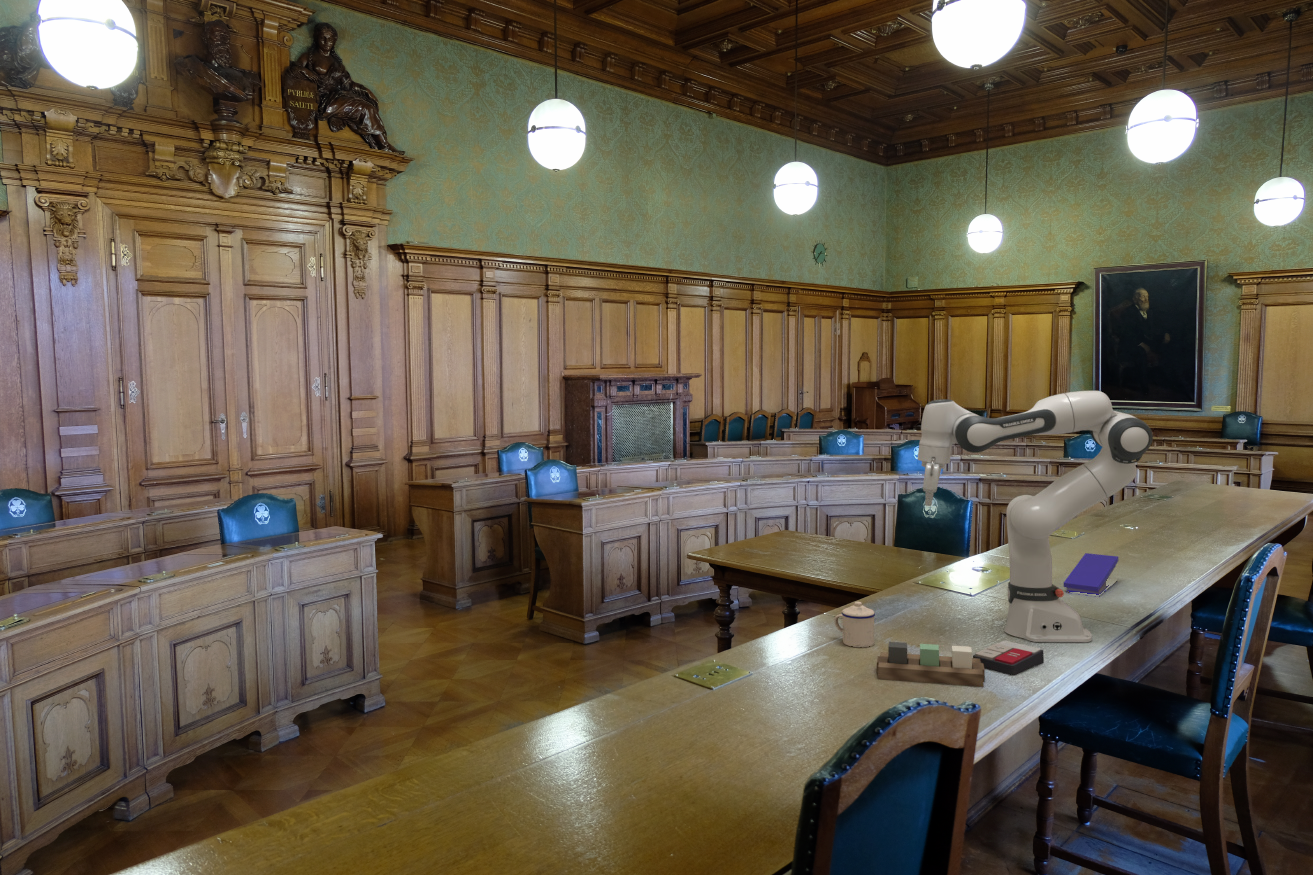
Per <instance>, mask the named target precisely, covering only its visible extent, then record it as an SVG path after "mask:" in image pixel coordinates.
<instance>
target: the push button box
mask: <svg viewBox="0 0 1313 875" xmlns="http://www.w3.org/2000/svg"><path fill="white" fill-rule="evenodd" d="M972 658H977V659H980V661H981V663H983V665H984V669H985V670H988V671H993V672H997V673H1000V674H1004V675H1008V676H1012V677H1013V676H1017V675H1019V674H1022V673H1025V672H1027V671H1029V670H1030V669H1032V668H1034V667H1038V666H1040V665H1043V664H1044V663H1045V660H1044V659H1045V658H1044V650H1043V649H1041V648H1040V647H1036V646H1035V647H1034V646H1031V645H1026V644H1022V643H1018V642H1017V643H1016V642H1013V641H1009V640H1006V639H1005V640H1002V641H999V642H998V643H994V644H992V645H990V646H988V647H986V648H984V649H982V650H980V651H977V652H976V653H975V654H972Z"/></svg>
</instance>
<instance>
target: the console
mask: <svg viewBox="0 0 1313 875" xmlns="http://www.w3.org/2000/svg"><path fill="white" fill-rule="evenodd" d="M876 658H877V659H876V675H878V680H887V681H900V682H901V681H902V682H915V683H927V684H939V685H940V684H942V685H954V686H966V687H967V686H968V687H976V688H977V687H981V688H984V686H985V685H984V683H985V682H986V681H985V680H986V679H985V673H986V672H985V670H986V669H985V668H984V665H983V663H981V661H980V659H977V658H973V657H972V669H965V668H952V656H946V655H939V667H937V666H923V665H920V654H915V653H914V654H912V653H907V664H895V663H889V659H888V651H887V652H884V651H883V652H882V651H880V652H879V655H877V657H876Z"/></svg>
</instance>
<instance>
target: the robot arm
mask: <svg viewBox="0 0 1313 875" xmlns="http://www.w3.org/2000/svg"><path fill="white" fill-rule="evenodd" d="M920 431H921V438H920V440H919V442H918V444H919V445H918V453H917V461H920V462H921V467H923V468H924V476H923V484H922V490H923V492H925V501H924V505H925V506H926V507H932V505H933V499H934V495H935V494H934V493H936V492H937V490H938V484H939V480H940V477H941V472H942V470H943V469H945V466H946V465H947V464H950V463H951V456H952V446H953V444H958V446H959V447H960V448H962V449H963V450H964V451H966V452H968V453H975V454H976V453H982V452H986V451H987V450H989V449H990V448H991V447H993V446H995V445H997V444H998V443H1000V442H1004V441H1008V440H1014V439H1018V438H1023V437H1029V436H1033V435H1035V436H1037V435H1048V436H1049V435H1062V434H1064V435H1065V434H1070V433H1076V432H1080V431H1088V432H1089V434H1090V436H1091V438H1092V439H1093V441H1094V442H1095V443H1096V444H1097V445H1099V446H1100V447H1101V449H1100V451H1099V453H1098V454H1097V455H1096V456H1095V457H1093V459H1091V460H1089V461H1087V462H1084V463H1083V464H1081V465H1079V466H1077V467H1075V468H1074V469H1072V470H1070V471H1069V472H1067V473H1065V474H1063V475H1061V476H1059V477H1058V478H1056V479H1055V480H1054V481H1053V482H1052V483H1051V484H1049V485H1048V486H1046V487H1045V488H1044V489H1042V490H1041V491H1040V492H1038V493H1037V494H1035V495H1029V494H1023V495H1018V496H1016V497H1014V498H1013V499H1012V500H1011V501H1010V502H1009V503H1008V505H1007V507H1006V528H1007V530H1006V531H1007V542H1008V550H1009V551H1008V552H1009V582H1008V583H1007V585H1008V586H1007V600H1008V608H1007V617H1006V622H1005V626H1004V628H1003V631H1004V632H1005V633H1006V634H1008V635H1011V636H1014V637H1015V638H1017V637H1018V638H1020V639H1024V640H1027V641H1030V642H1034V643H1089V642H1091V641H1092V640H1093V636H1092V633H1091V631H1090V630H1089V629H1087V628H1086V627H1084V626H1083V621H1082V618H1081V615H1080V614H1079V613H1078V611H1076V609H1074V608H1073V607H1072V606H1070V605H1069V604H1068V603H1067V602H1065V601H1064V600H1062V599H1061V598H1063V596H1065V593H1064V591H1063V590H1062V589H1061V588H1059V587H1058V586H1057V585H1054V584H1053V557H1052V556H1053V555H1052V550H1051V544H1050V536H1051V535H1052V534H1054V532H1056V531H1057V530H1059V529H1060V528H1062V527H1063V526H1064V525H1067V523H1069V522H1070V521H1071V520H1073V518H1076V516H1078V515H1080V514H1081V513H1082V512H1084V511H1086V510H1088V509H1090V508H1091V507H1093V506H1095V505H1097V504H1099V503H1100V502H1103V501H1104V500H1106V499H1108V498H1110V497H1111V496H1113V495H1114V494H1116V493H1118V492H1119V491H1121V490H1123V489H1124V488H1125V487H1126V486H1128V485H1129V484H1130V483H1131V482H1132V481H1134V479H1135V478H1136V476H1137V472H1138V471H1137V470H1138V469H1137V467H1136V466H1137V465H1136V463H1138V462H1139V461H1140V460H1141V459H1142V456H1143V455H1144V454H1145V453H1146V452H1148V450H1149V449H1150V447H1151V445H1152V444H1153V441H1154V440H1153V439H1154V436H1153V435H1154V434H1153V432H1152V429H1151V428H1150V426H1149V424H1147V423H1146V422H1145V421H1144V420H1142V419H1140V418H1137V417H1135V416H1134V415H1132V414H1129V413H1124V412H1121V411H1118V410H1115V409H1113V405H1112V402H1111V400H1110V398H1109V396H1108V395H1107V394H1106V393H1104V392H1102V391H1101V390H1100V391H1099V390H1081V391H1080V390H1078V391H1070V392H1063V393H1058V394H1054V395H1050V396H1047V397H1045V398H1042V399H1040V400H1038V401H1036V402H1035V404H1034V406H1033V407H1032V408H1030V409H1029V410H1027V411H1025V412H1019V413H1017V414H1012V415H1007V416H1001V417H997V418H991V417H986V416H982V415H981V416H980V415H978V414H976V413H974V412H971V411H970V410H967V409H966V408H964V407H962V406H960V405H959V404H958V403H956V402H955V401H954V400H952V399H944V398H943V399H935V400H931V401H929V402H928V403H927V404H926V405H925V406H924V410H923V413H922V418H921V425H920Z"/></svg>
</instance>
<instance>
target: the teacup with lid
mask: <svg viewBox="0 0 1313 875" xmlns="http://www.w3.org/2000/svg"><path fill="white" fill-rule="evenodd" d="M875 616H876V614H875V611H874V609H871V608H868V607H867V606H865V605H863V604H862V602H861V601H854V604H853V605H851V606H849V607H846V608H843V609H842V610H841V613H840V614H837V615H836V616H834V625H835V628H836V630H838V631H839V632H841V633H842V642H843V644H844V645H846V646H848V647H851V646H853V648H860V647H862V648H869V646H870V647H872V646H874V645H875ZM839 618H842V627H841V625H840V623H839Z"/></svg>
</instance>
